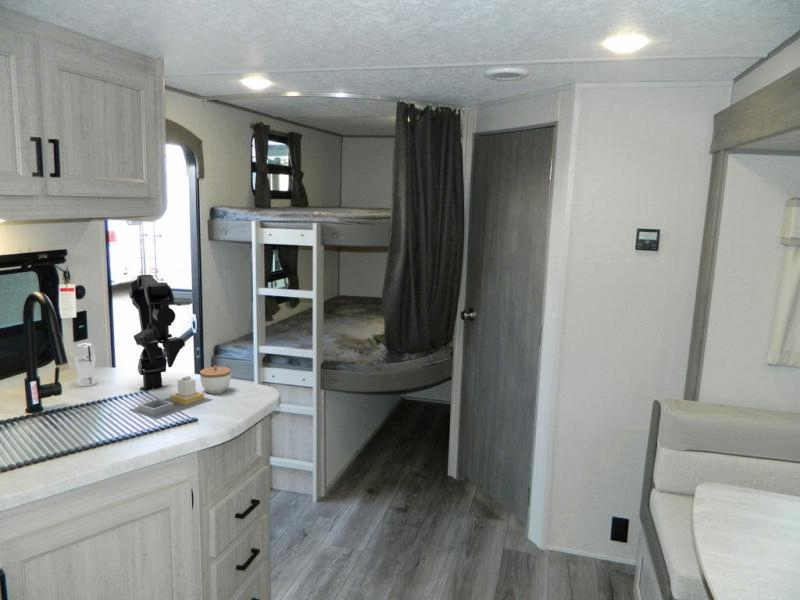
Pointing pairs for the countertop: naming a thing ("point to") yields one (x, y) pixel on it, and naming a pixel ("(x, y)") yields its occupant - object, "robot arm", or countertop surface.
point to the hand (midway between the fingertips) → (161, 365)
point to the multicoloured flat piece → (169, 405)
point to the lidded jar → (215, 379)
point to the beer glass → (85, 363)
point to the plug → (186, 387)
